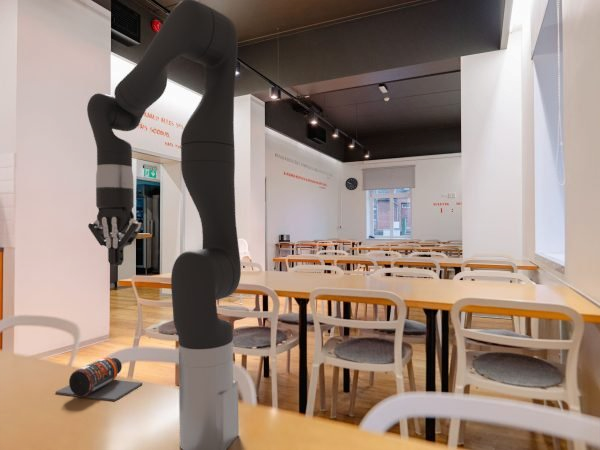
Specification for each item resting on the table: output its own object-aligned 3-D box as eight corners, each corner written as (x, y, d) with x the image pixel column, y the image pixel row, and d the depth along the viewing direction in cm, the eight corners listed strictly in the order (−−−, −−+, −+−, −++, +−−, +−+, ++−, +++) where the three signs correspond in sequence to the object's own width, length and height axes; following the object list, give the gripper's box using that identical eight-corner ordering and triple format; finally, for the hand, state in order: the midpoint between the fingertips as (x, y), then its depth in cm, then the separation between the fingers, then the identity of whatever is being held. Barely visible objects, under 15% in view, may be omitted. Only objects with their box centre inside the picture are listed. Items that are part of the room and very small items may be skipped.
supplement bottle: (82, 365, 85) (118, 349, 96) (63, 378, 86) (100, 360, 97) (95, 390, 84) (129, 370, 95) (75, 402, 85) (111, 381, 96)
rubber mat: (142, 384, 93) (142, 382, 93) (114, 401, 84) (114, 399, 84) (87, 378, 97) (87, 376, 97) (55, 393, 88) (55, 391, 88)
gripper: (151, 187, 89) (152, 264, 89) (102, 189, 92) (103, 263, 92) (129, 184, 82) (130, 267, 82) (76, 186, 85) (77, 266, 85)
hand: (115, 265), depth 87 cm, fingers closed
